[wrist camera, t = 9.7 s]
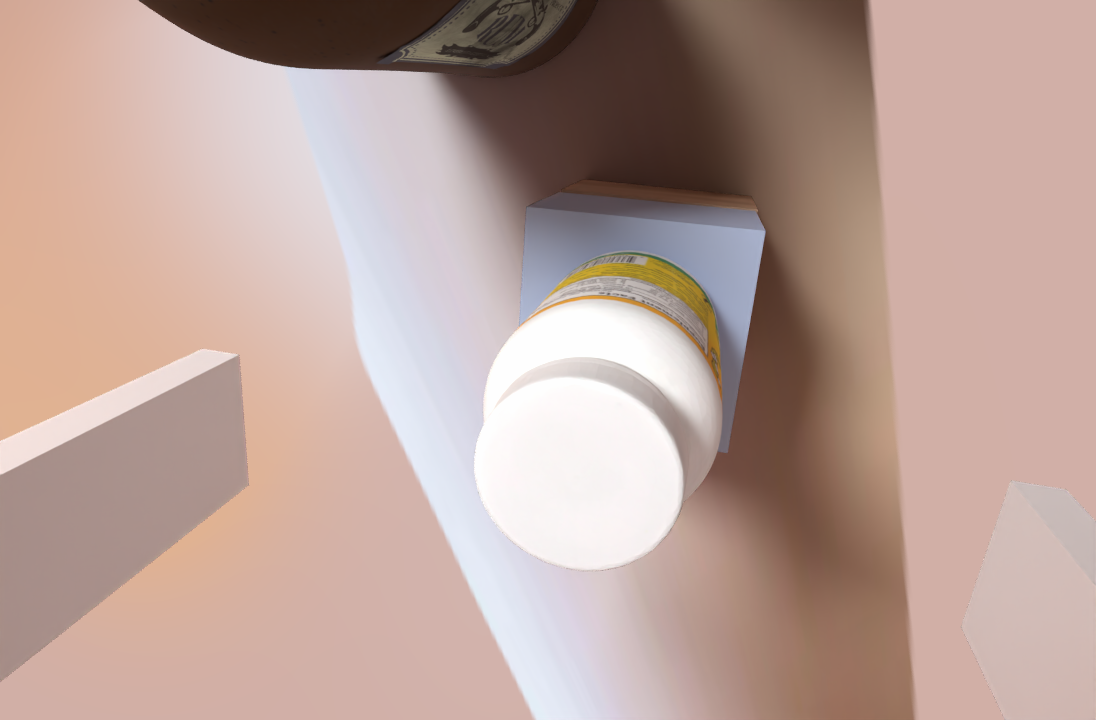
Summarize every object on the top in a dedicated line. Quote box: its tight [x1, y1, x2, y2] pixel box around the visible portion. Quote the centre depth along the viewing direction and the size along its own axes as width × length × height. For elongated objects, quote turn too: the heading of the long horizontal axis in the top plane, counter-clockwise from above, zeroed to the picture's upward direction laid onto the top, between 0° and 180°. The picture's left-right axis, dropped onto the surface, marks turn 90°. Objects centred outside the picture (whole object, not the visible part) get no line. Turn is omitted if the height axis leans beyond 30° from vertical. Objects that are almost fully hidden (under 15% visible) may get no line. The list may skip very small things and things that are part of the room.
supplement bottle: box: [474, 250, 722, 571], centre depth 18 cm, size 5×5×10 cm
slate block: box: [519, 192, 766, 453], centre depth 24 cm, size 7×7×5 cm
